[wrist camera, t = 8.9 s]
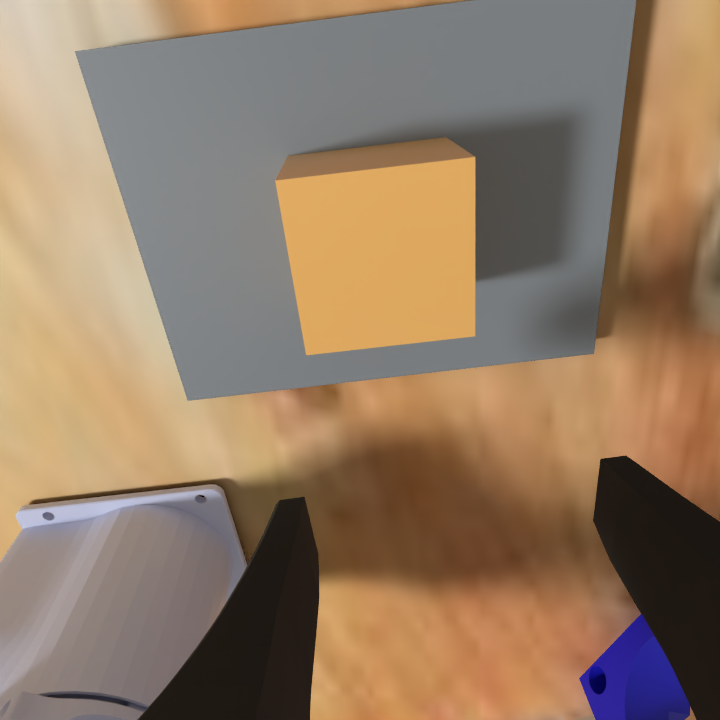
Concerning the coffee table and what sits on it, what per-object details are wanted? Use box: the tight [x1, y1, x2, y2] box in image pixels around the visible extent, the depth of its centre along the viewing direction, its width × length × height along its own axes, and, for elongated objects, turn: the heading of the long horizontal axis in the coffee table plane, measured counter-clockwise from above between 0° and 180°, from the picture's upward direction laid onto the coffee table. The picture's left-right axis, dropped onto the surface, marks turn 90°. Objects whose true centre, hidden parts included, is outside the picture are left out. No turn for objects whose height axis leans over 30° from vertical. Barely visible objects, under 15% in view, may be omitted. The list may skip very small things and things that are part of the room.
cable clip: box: [579, 614, 690, 720], centre depth 29 cm, size 12×4×6 cm, turn 159°
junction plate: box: [75, 0, 636, 401], centre depth 17 cm, size 16×12×4 cm
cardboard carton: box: [275, 137, 475, 355], centre depth 16 cm, size 5×5×4 cm
